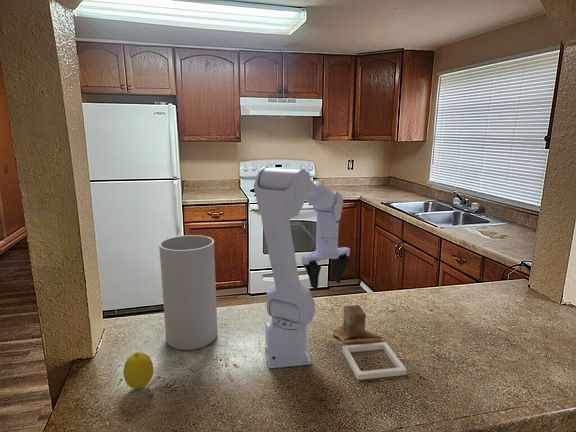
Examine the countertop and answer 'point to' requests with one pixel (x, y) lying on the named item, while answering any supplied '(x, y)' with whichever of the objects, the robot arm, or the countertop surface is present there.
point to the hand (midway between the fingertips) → (325, 284)
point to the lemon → (138, 370)
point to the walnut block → (354, 321)
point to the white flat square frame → (373, 373)
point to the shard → (345, 339)
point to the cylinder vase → (189, 291)
